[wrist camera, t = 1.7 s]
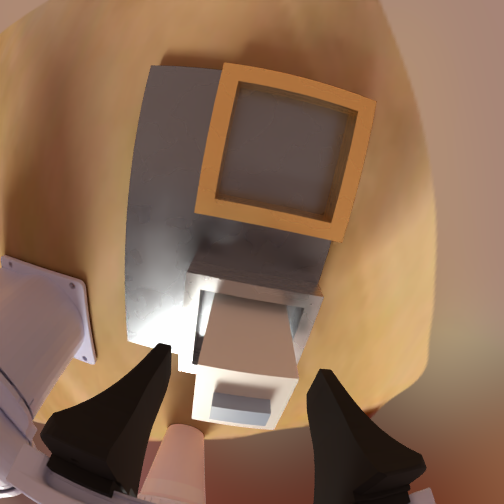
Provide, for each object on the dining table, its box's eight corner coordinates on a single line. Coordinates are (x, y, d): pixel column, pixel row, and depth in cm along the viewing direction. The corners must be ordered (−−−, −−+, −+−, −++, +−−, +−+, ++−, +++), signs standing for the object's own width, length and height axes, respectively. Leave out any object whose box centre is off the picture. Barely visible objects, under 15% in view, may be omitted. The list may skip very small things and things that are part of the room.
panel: (132, 332, 18) (119, 354, 16) (157, 70, 12) (140, 57, 10) (284, 362, 19) (287, 387, 16) (358, 107, 13) (376, 101, 10)
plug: (207, 343, 17) (189, 431, 11) (215, 289, 15) (194, 378, 9) (269, 353, 17) (274, 442, 11) (285, 302, 16) (301, 393, 9)
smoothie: (161, 442, 24) (137, 548, 11) (148, 411, 22) (111, 538, 8) (218, 450, 24) (208, 562, 11) (215, 420, 22) (200, 559, 9)
